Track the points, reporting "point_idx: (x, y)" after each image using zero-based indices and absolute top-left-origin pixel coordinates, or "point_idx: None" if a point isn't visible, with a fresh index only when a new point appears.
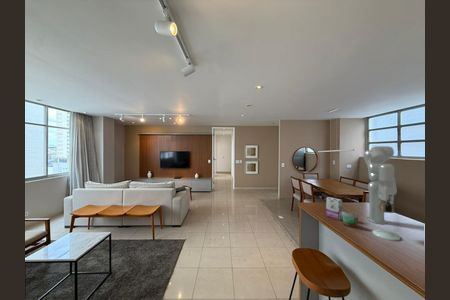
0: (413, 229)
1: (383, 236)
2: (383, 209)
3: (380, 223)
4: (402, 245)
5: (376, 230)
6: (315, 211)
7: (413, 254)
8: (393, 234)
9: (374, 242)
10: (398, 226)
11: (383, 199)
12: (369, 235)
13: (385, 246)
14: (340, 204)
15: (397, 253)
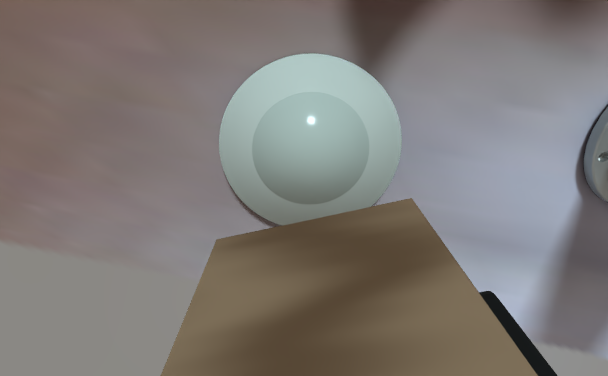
0: (517, 320)
1: (233, 123)
2: (204, 290)
3: (586, 157)
4: (179, 211)
5: (356, 91)
6: None
7: (73, 234)
8: (322, 200)
9: (87, 33)
10: (555, 260)
11: None
12: (234, 13)
13: (69, 105)
14: None
15: (5, 157)
